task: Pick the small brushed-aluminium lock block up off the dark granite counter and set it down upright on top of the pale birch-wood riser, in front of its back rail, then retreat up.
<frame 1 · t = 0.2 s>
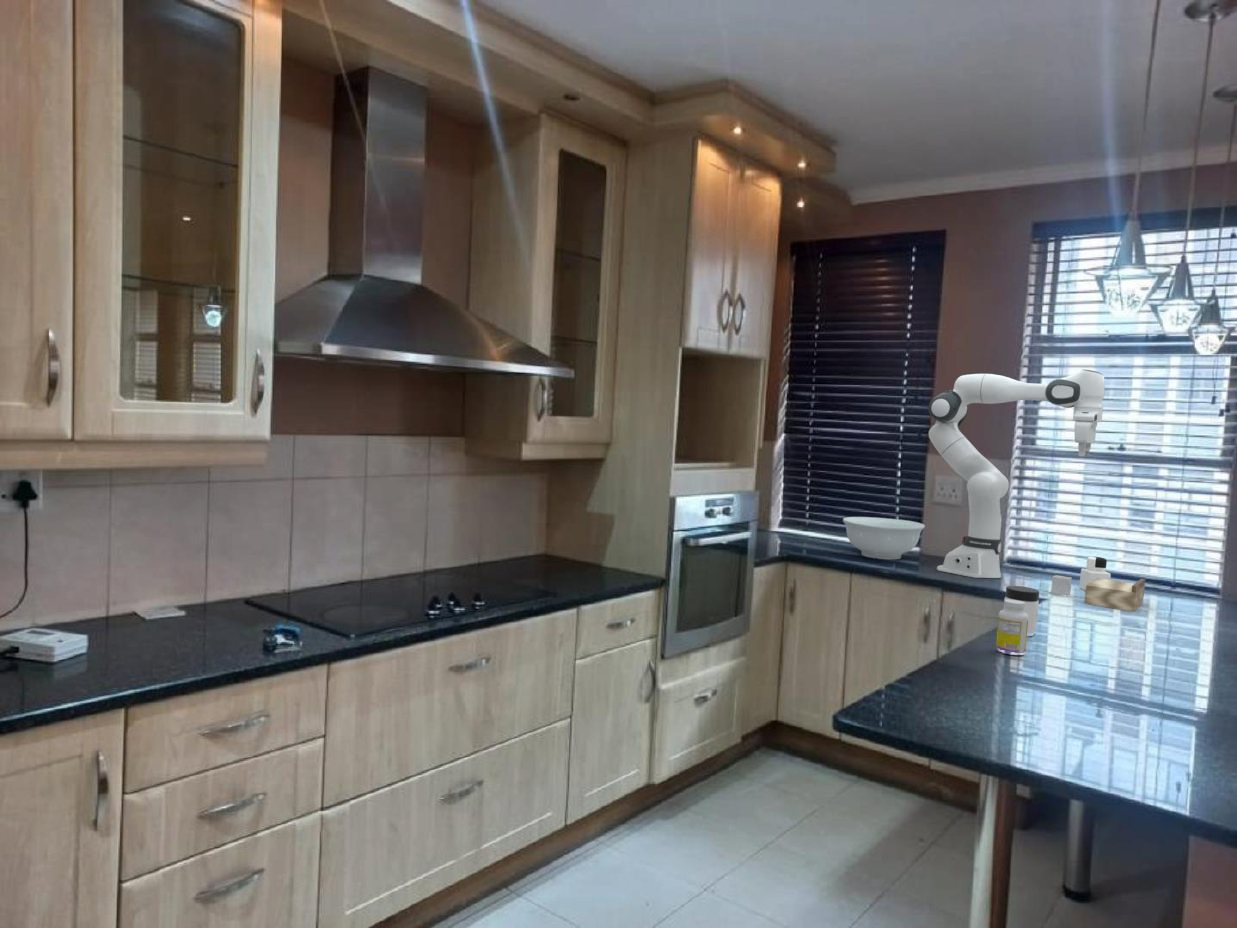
hand: (1083, 456, 298), 47 cm above the counter, fingers open, 8 cm apart
supplement bottle: (1010, 653, 209), on the counter
lock block: (1060, 594, 291), on the counter
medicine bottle: (1093, 591, 302), on the counter
riser: (1114, 603, 281), on the counter
jar: (1018, 633, 232), on the counter
bowl: (880, 557, 351), on the counter
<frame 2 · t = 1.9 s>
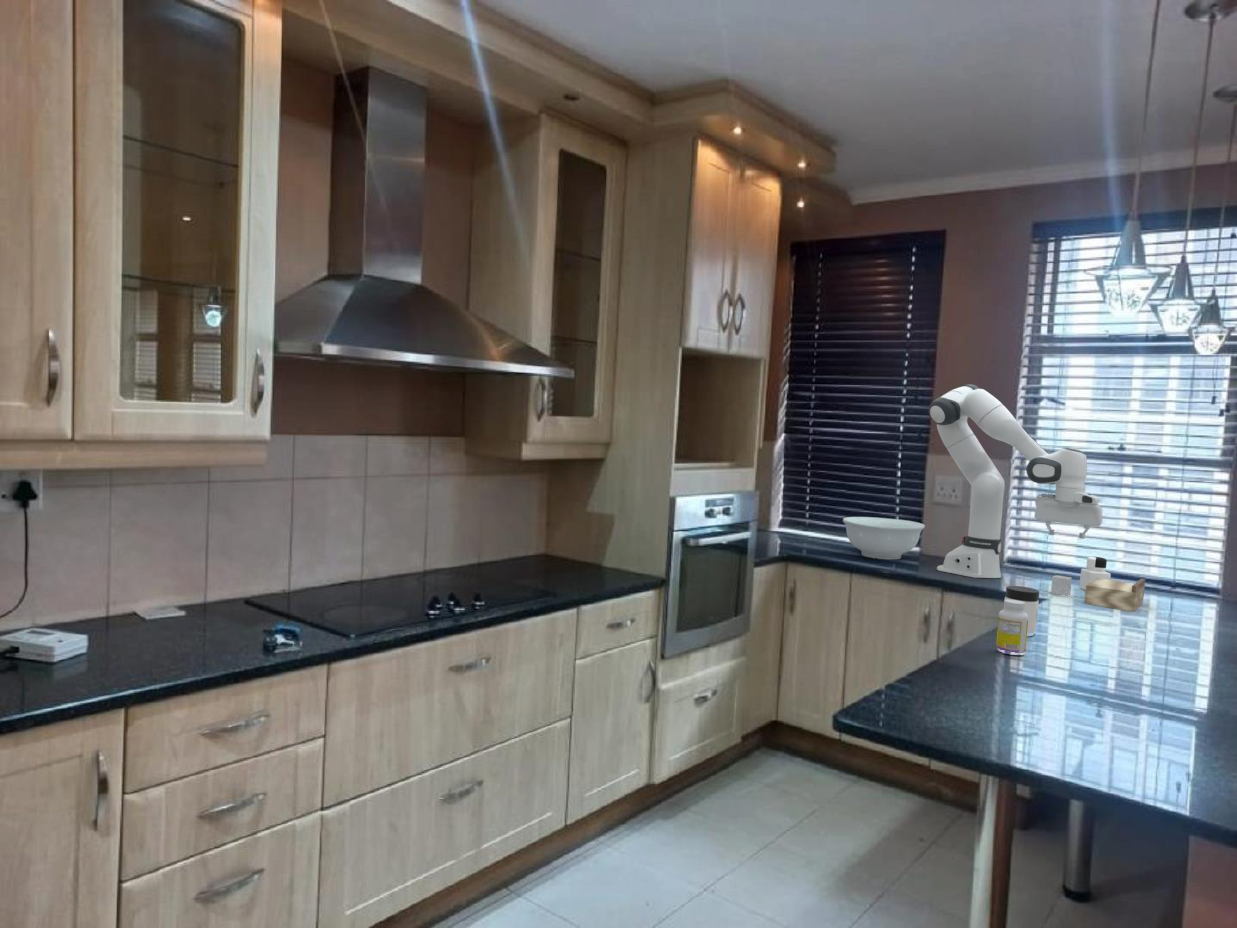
hand: (1066, 536, 290), 20 cm above the counter, fingers open, 8 cm apart
nothing on the counter moved.
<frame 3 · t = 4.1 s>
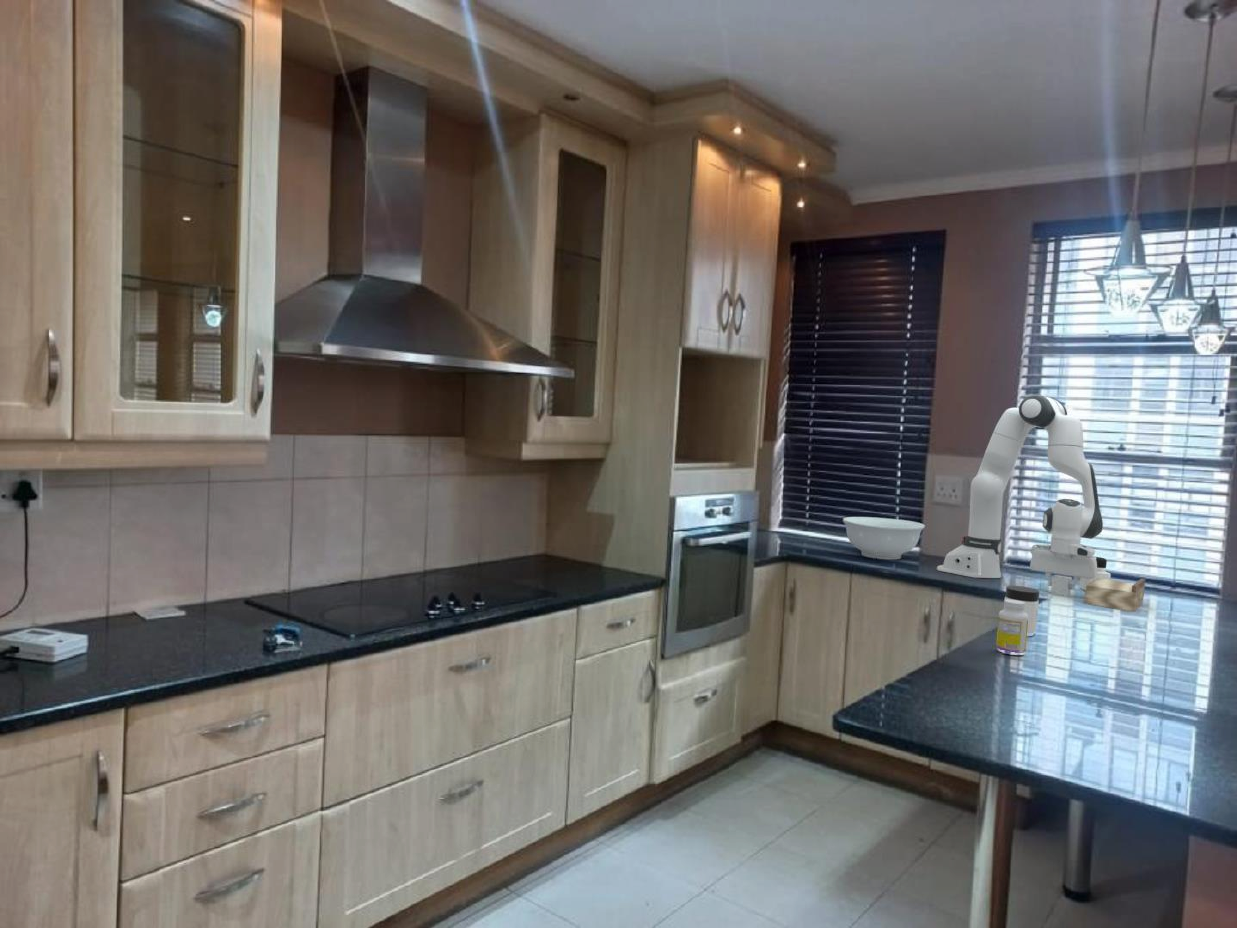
hand: (1061, 587, 291), 2 cm above the counter, fingers closed on lock block, 5 cm apart
lock block: (1060, 594, 291), on the counter, touching gripper
everything else where it was.
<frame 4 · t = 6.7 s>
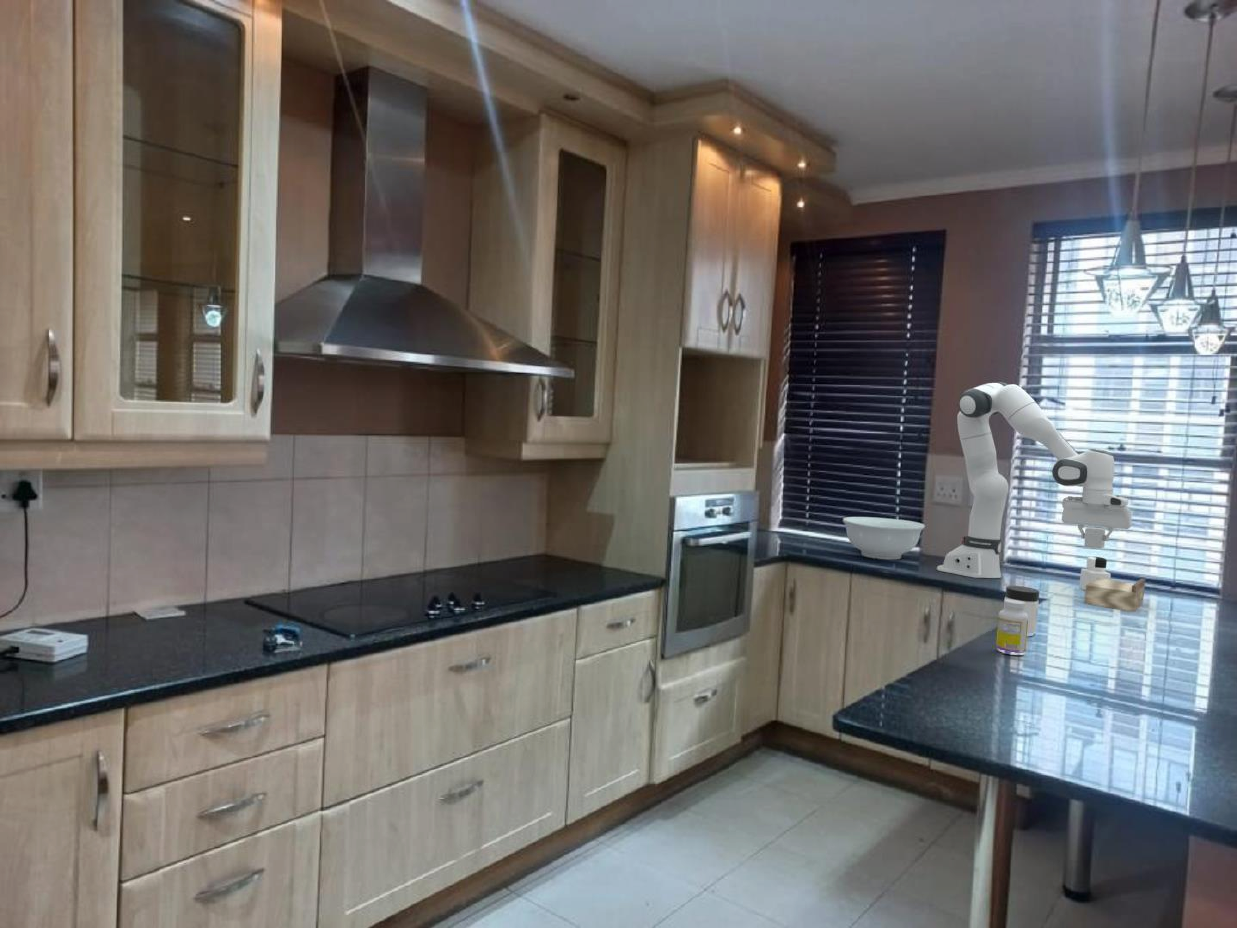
hand: (1094, 539, 284), 20 cm above the counter, fingers closed on lock block, 5 cm apart
lock block: (1094, 546, 284), point 18 cm above the counter, touching gripper
everything else where it was.
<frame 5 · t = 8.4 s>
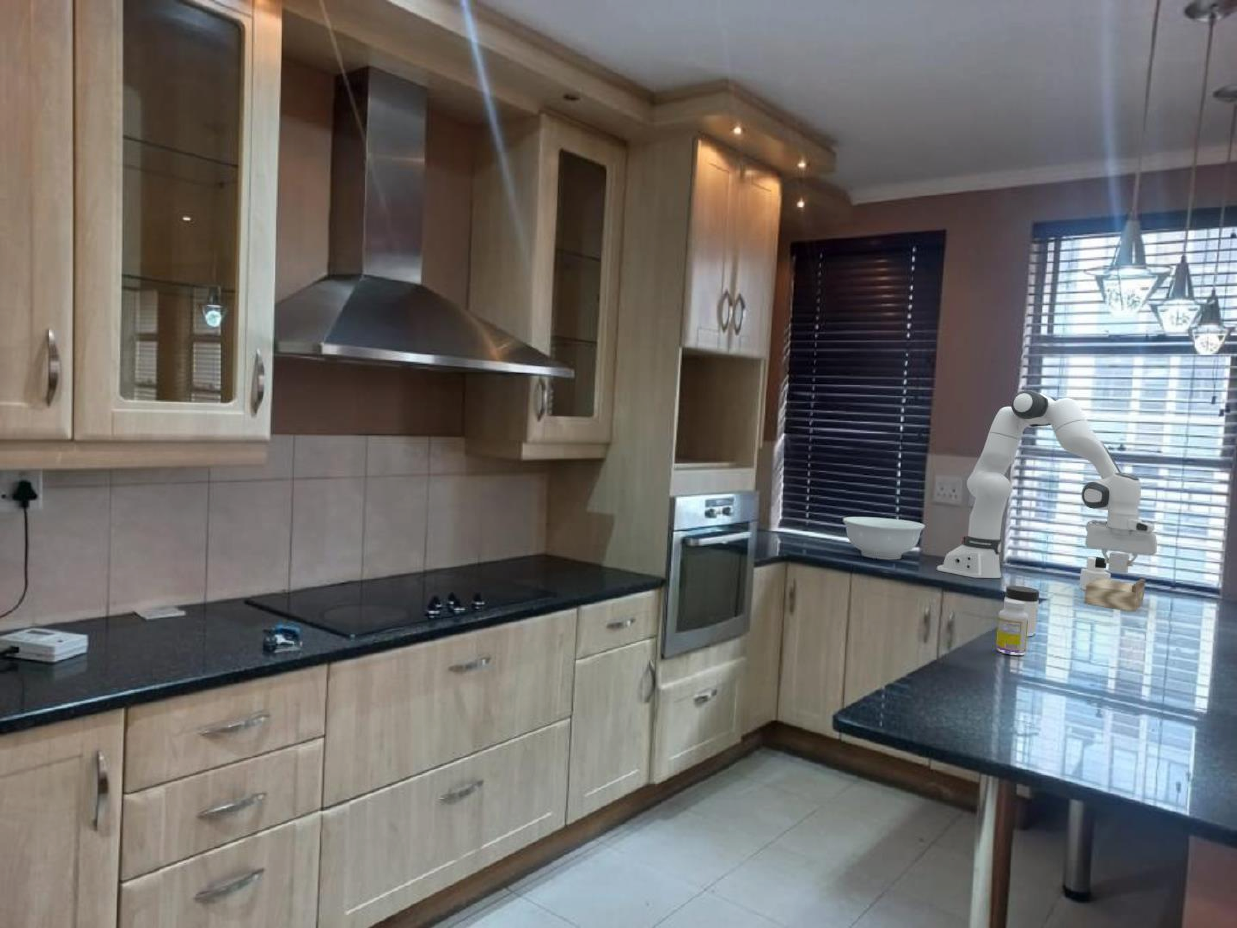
hand: (1118, 564, 281), 13 cm above the counter, fingers closed on lock block, 5 cm apart
lock block: (1118, 571, 281), point 10 cm above the counter, touching gripper
everything else where it was.
when the fingers open (10 cm above the counter, at t = 9.8 s): lock block drops 1 cm, resting on riser.
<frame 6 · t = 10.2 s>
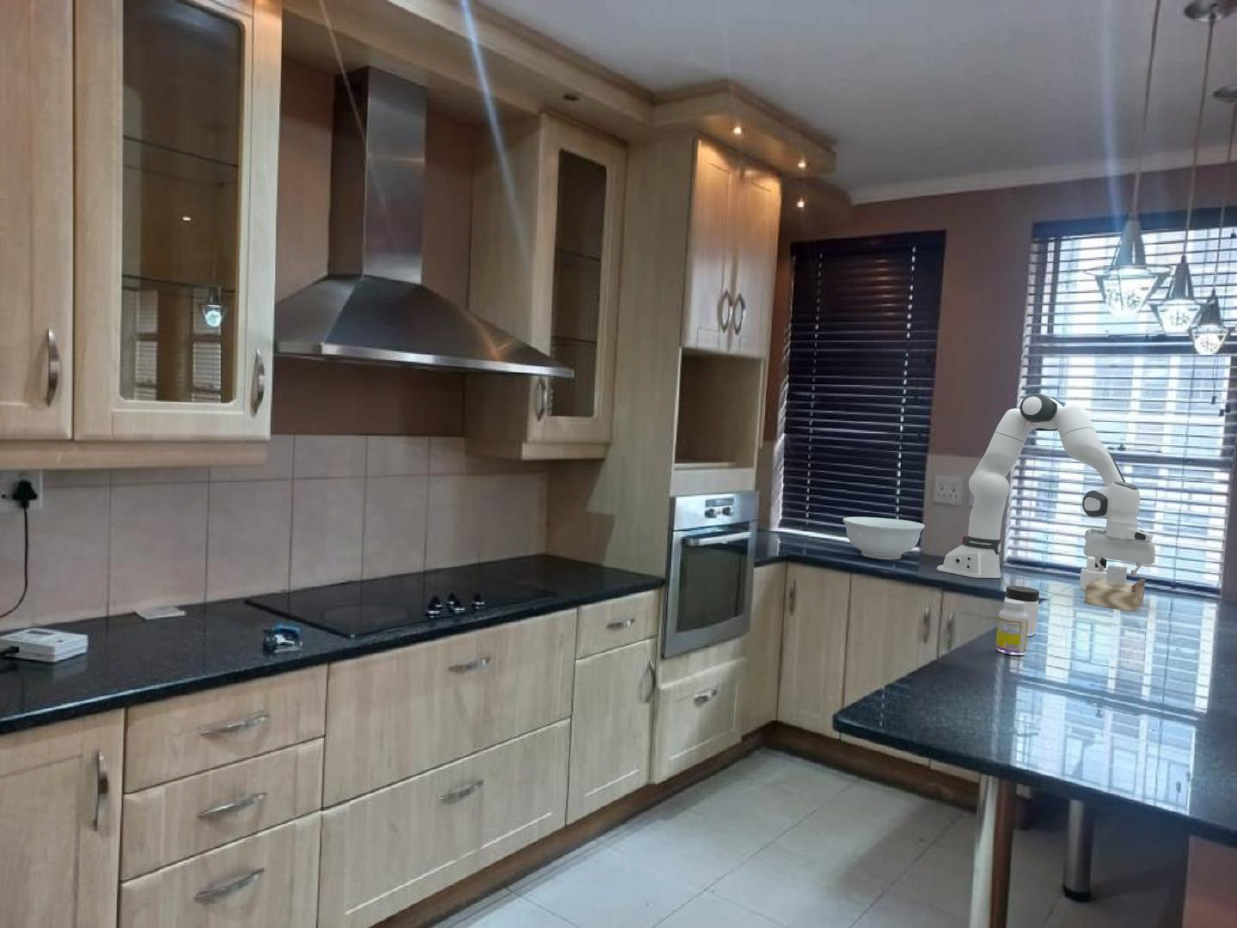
hand: (1116, 573, 281), 10 cm above the counter, fingers open, 8 cm apart
lock block: (1115, 585, 281), point 6 cm above the counter, touching riser
everything else where it was.
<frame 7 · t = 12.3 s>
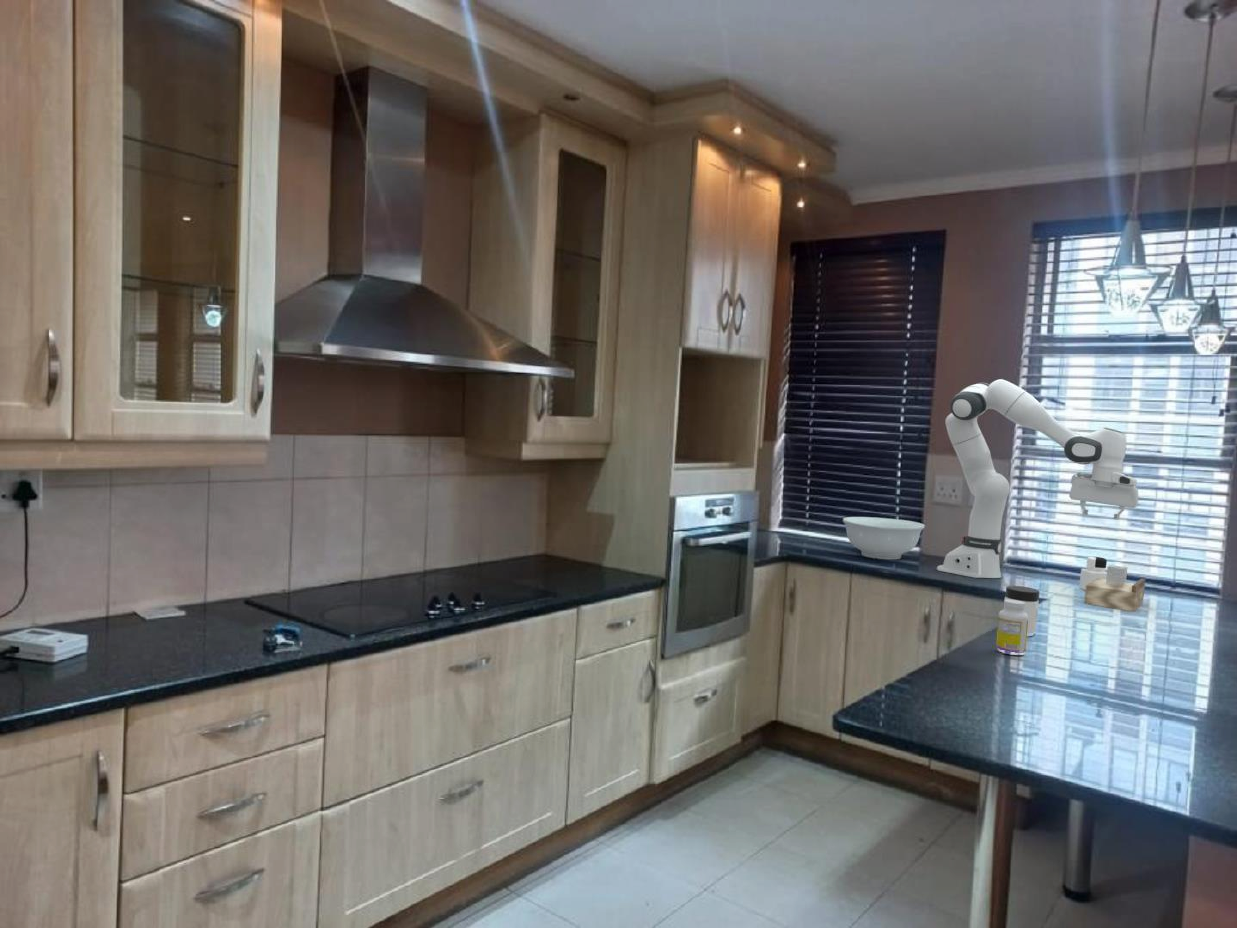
hand: (1100, 517, 289), 27 cm above the counter, fingers open, 8 cm apart
nothing on the counter moved.
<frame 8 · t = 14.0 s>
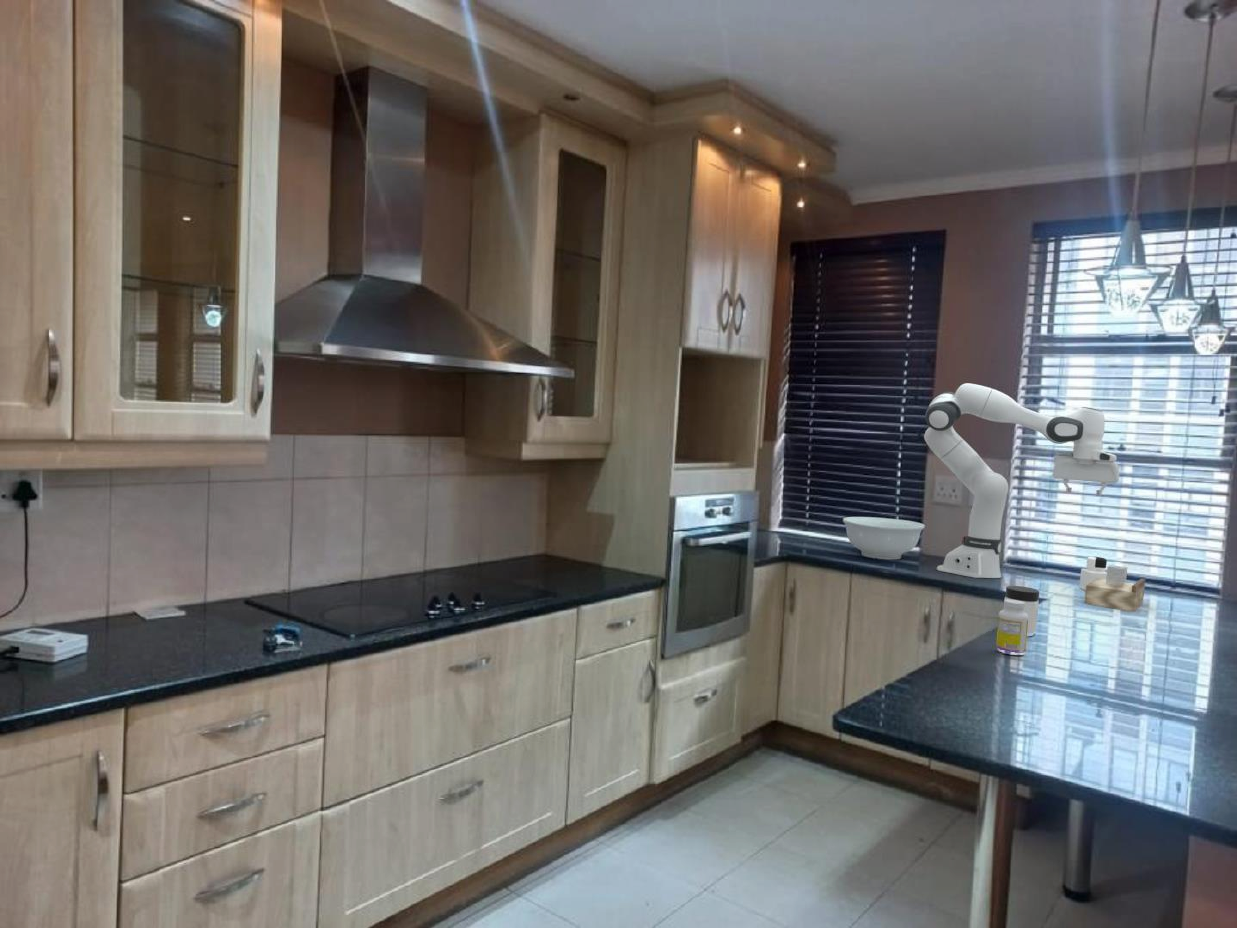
hand: (1083, 494, 297), 34 cm above the counter, fingers open, 8 cm apart
nothing on the counter moved.
at the end: lock block inside the target area on the riser (0.1 cm from its centre), point 6.0 cm above the riser's base; lock block tilted 0°; the gripper is holding nothing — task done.
